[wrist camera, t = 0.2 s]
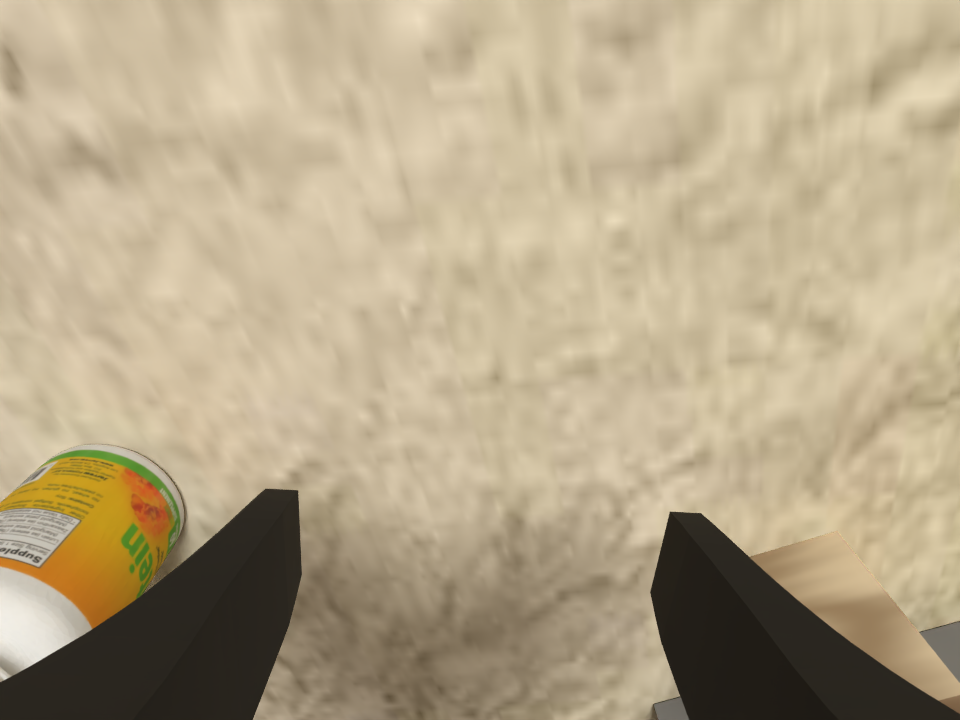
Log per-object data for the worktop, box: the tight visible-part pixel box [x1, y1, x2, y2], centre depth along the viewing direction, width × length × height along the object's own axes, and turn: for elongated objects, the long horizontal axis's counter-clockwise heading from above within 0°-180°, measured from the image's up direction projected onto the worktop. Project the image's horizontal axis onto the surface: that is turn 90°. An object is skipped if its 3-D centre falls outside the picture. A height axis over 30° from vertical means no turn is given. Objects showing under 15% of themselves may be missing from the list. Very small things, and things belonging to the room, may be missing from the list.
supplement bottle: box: [0, 444, 184, 682], centre depth 20 cm, size 5×5×10 cm
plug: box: [750, 531, 960, 714], centre depth 23 cm, size 4×4×8 cm
